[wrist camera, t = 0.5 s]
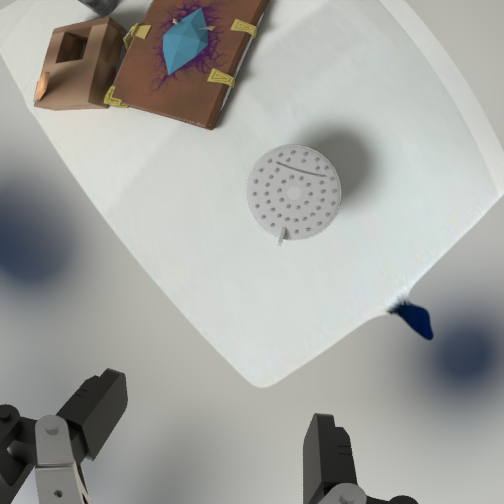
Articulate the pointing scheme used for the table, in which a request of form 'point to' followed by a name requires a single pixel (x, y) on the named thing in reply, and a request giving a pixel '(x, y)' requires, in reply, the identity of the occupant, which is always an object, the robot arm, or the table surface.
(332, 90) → the table surface
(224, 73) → the book
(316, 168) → the showerhead
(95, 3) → the pin
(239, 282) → the table surface
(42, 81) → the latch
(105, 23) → the block
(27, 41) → the table surface
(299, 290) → the table surface
